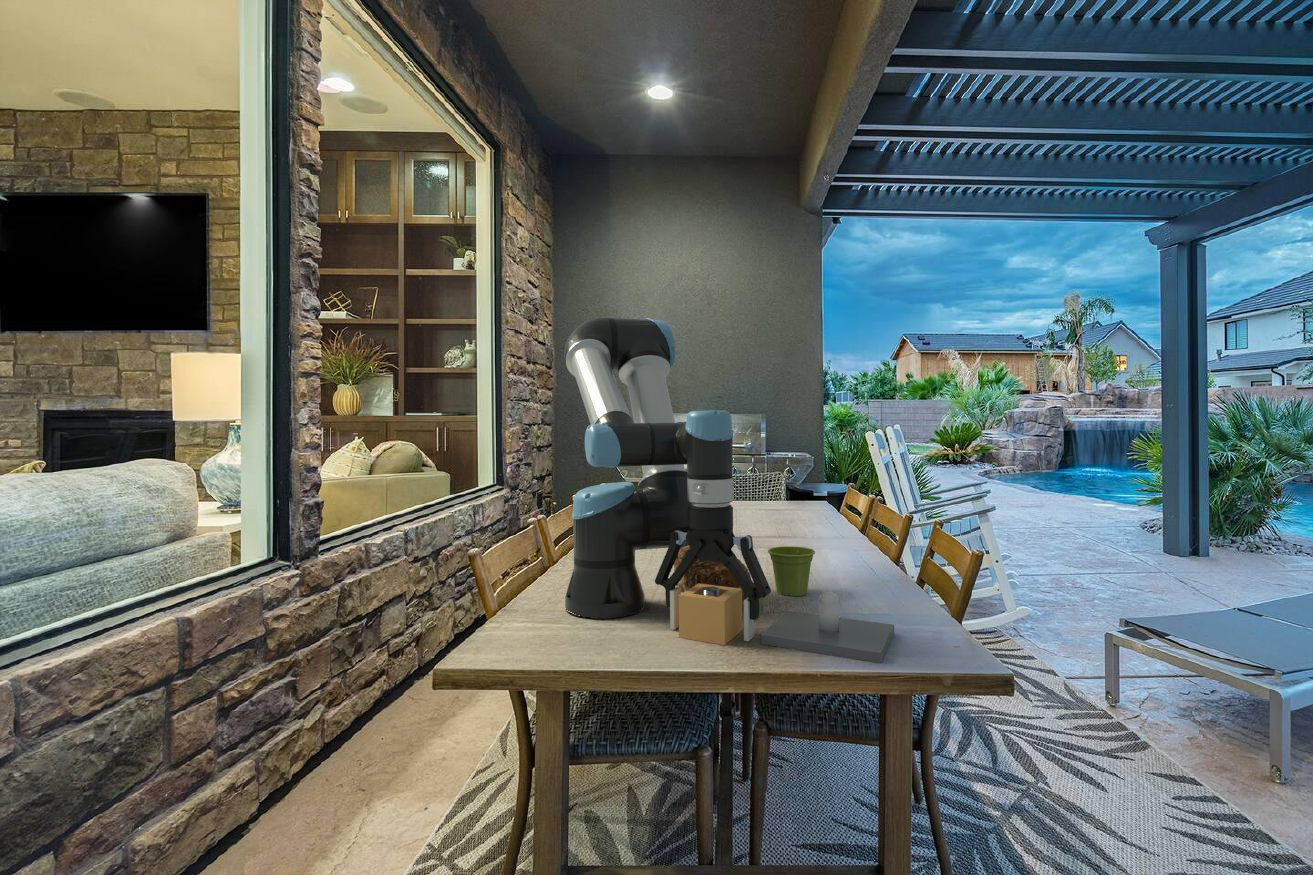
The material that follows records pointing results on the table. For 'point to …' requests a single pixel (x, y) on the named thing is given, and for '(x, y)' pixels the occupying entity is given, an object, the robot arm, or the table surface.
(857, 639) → the board
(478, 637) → the table surface
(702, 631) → the collar
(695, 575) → the bread
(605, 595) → the robot arm
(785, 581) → the plant pot
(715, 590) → the shiny metal cylinder
